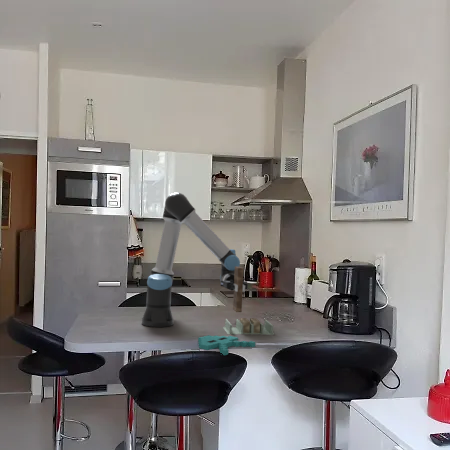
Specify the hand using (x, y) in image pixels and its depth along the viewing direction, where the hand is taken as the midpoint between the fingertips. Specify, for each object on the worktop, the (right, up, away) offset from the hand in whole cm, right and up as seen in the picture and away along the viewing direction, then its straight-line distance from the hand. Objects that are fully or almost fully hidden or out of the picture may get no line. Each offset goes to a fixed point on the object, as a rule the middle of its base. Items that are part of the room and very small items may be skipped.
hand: (240, 288), depth 209 cm
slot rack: (+4, -21, +7) cm, 23 cm away
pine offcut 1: (+2, -20, +6) cm, 21 cm away
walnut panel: (-1, -11, +5) cm, 12 cm away
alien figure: (-8, -22, -18) cm, 29 cm away
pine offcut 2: (+7, -21, +7) cm, 23 cm away
